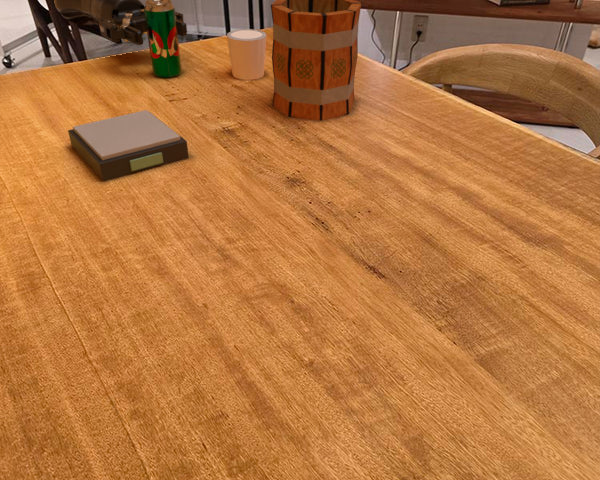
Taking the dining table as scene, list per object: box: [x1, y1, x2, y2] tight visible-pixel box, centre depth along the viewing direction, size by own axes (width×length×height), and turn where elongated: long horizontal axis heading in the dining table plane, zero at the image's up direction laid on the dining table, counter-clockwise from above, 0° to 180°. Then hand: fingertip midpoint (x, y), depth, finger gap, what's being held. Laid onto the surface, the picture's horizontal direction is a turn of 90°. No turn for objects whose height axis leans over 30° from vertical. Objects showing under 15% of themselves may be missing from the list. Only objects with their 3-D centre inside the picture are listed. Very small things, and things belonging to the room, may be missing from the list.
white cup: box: [226, 28, 267, 81], centre depth 104 cm, size 7×7×7 cm
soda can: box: [144, 0, 182, 79], centre depth 102 cm, size 5×5×12 cm
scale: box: [67, 109, 189, 182], centre depth 80 cm, size 12×12×3 cm
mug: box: [270, 0, 362, 122], centre depth 93 cm, size 20×14×15 cm
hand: (163, 34), depth 101 cm, fingers open, 8 cm apart
